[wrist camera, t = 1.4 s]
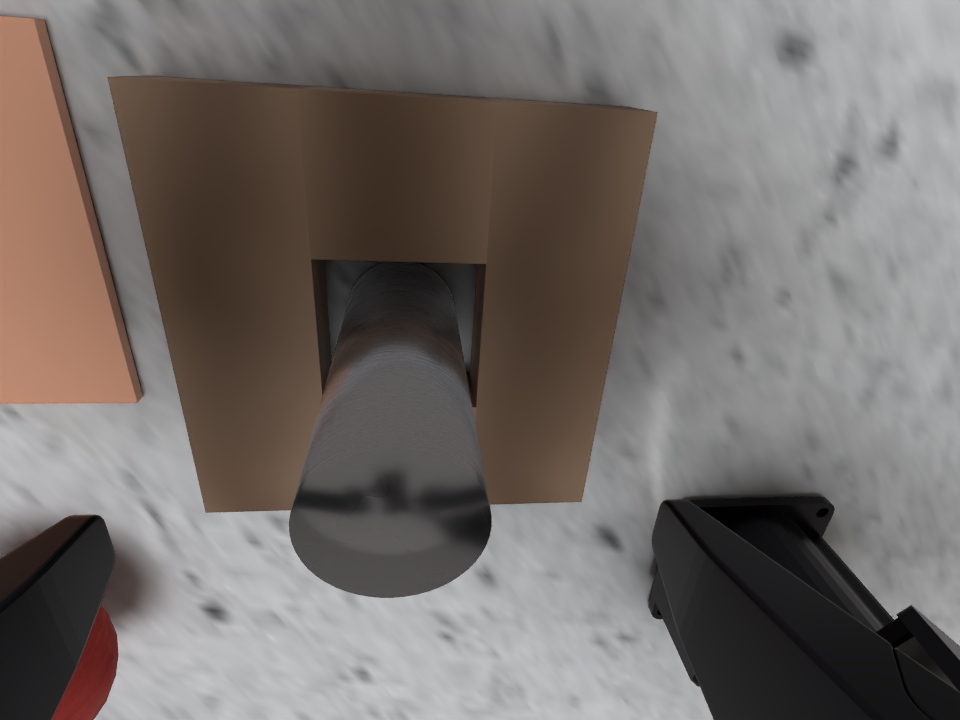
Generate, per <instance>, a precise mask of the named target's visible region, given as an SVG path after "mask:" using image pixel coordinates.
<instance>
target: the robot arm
mask: <svg viewBox="0 0 960 720" xmlns="http://www.w3.org/2000/svg"><path fill="white" fill-rule="evenodd" d="M833 513H834V506H833V505H832V504H831V503H830V502H829V501H828V500H827V499H826V498H825V497H821V496H819V497H784V498H750V499H715V500H690V501H689V500H686V499H668V500H664V501H663V502H662V503H661V505H660V508H659V512H658V515H657V519H656V522H655V526H654V529H653V533H652V546H653V550H654V554H655V557H656V560H657V564H658V570H657V573H656V576H655V580H654V583H653V586H652V590H651V593H652V594H651V598H650V601H649V605H648V607H649V609H650V612H651V614H652V616H653V617H654V618H656V619H663V620H664V622H665V624H666V627H667V629H668V631H669V633H670V635H671V638H672V640H673V642H674V644H675V646H676V649H677V651H678V653H679V655H680V657H681V660H682V662H683V664H684V666H685V668H686V671H687V673H688V675H689V677H690V679H691V681H692V682H693V683H694V684H695V685H697V686H698V687H699V686H700V687H701V690H702V692H703V695H704V697H705V700H706V702H707V704H708V707H709V709H710V712H711V714H712V716H713V719H714V720H960V646H959V645H958V644H956V643H955V642H954V641H953V640H952V639H951V638H949V637H948V636H947V635H946V634H945V633H944V632H943V631H941V630H940V629H939V628H938V627H937V626H936V625H934V624H933V623H932V622H931V621H930V620H929V619H927V618H926V617H925V616H924V615H923V614H922V613H920V612H919V611H918V610H917V609H916V608H915V607H913V606H912V605H911V606H909V607H908V608H906V609H904V610H903V611H901V612H900V613H898V614H896V615H897V616H898V618H897V619H895V620H894V619H893V618H892V617H891V616H890V615H889V614H888V612H887V611H886V610H885V609H884V608H883V607H882V606H881V604H880V603H879V602H878V601H877V600H876V599H875V597H874V596H873V595H872V594H871V593H870V592H869V591H868V589H867V588H866V587H865V586H864V585H863V584H862V583H861V581H860V580H859V579H858V578H857V577H856V576H855V574H854V573H853V572H852V571H851V570H850V569H849V568H848V566H847V565H846V564H845V563H844V562H843V561H842V560H841V558H840V557H839V556H838V555H837V554H836V553H835V552H834V550H833V549H832V548H831V547H830V546H829V545H828V543H827V542H826V541H825V540H824V539H823V538H822V536H823V534H824V532H825V530H826V527H827V525H828V523H829V521H830V519H831V517H832V515H833ZM114 566H115V551H114V548H113V545H112V542H111V539H110V536H109V533H108V530H107V527H106V524H105V522H104V520H103V518H102V517H100V516H99V515H73V516H69V517H66V518H65V519H63V520H61V521H59V522H58V523H56V524H55V525H53V526H52V527H50V528H48V529H47V530H45V531H44V532H42V533H40V534H39V535H37V536H36V537H34V538H32V539H31V540H29V541H28V542H26V543H25V544H23V545H21V546H20V547H18V548H17V549H15V550H13V551H12V552H10V553H9V554H7V555H5V556H4V557H2V558H1V559H0V720H52V718H53V716H54V713H55V711H56V709H57V707H58V705H59V703H60V701H61V699H62V697H63V695H64V693H65V691H66V689H67V687H68V685H69V683H70V681H71V679H72V676H73V674H74V672H75V670H76V668H77V665H78V663H79V660H80V658H81V656H82V653H83V651H84V648H85V645H86V642H87V640H88V637H89V634H90V632H91V629H92V626H93V624H94V621H95V618H96V616H97V613H98V610H99V607H100V605H101V602H102V599H103V597H104V594H105V591H106V589H107V586H108V583H109V581H110V578H111V575H112V572H113V570H114Z"/></svg>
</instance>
